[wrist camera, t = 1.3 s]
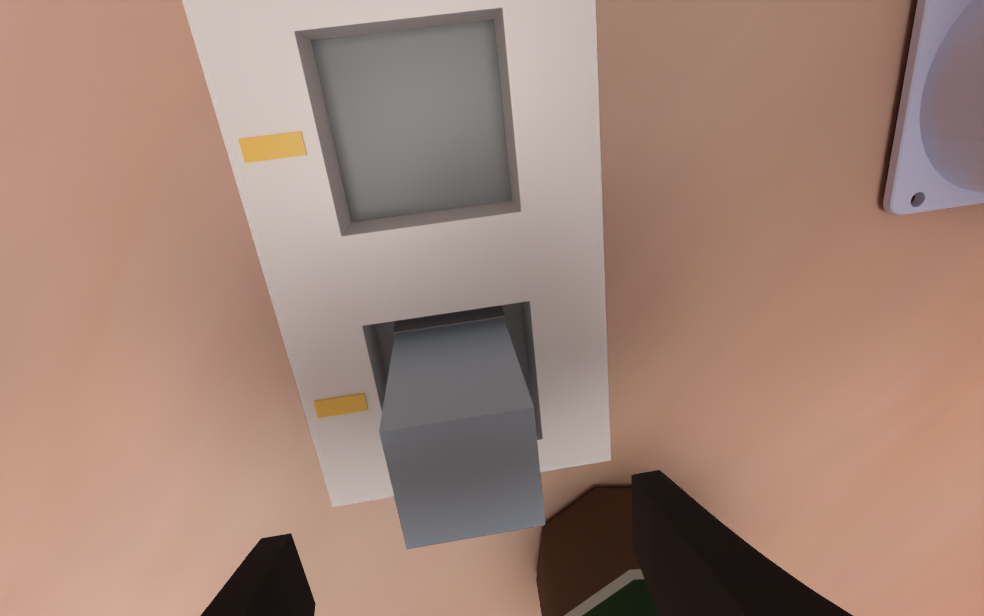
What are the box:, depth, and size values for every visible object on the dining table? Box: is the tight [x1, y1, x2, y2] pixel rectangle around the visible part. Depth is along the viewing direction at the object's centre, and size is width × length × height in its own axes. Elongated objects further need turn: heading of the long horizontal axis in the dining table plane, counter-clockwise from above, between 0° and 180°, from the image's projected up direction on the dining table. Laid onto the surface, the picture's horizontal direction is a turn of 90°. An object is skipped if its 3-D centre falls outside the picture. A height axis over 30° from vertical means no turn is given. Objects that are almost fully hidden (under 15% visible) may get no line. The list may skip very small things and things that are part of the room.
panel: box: [182, 0, 611, 507], centre depth 16 cm, size 10×16×3 cm, turn 7°
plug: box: [379, 305, 545, 549], centre depth 16 cm, size 4×4×6 cm
